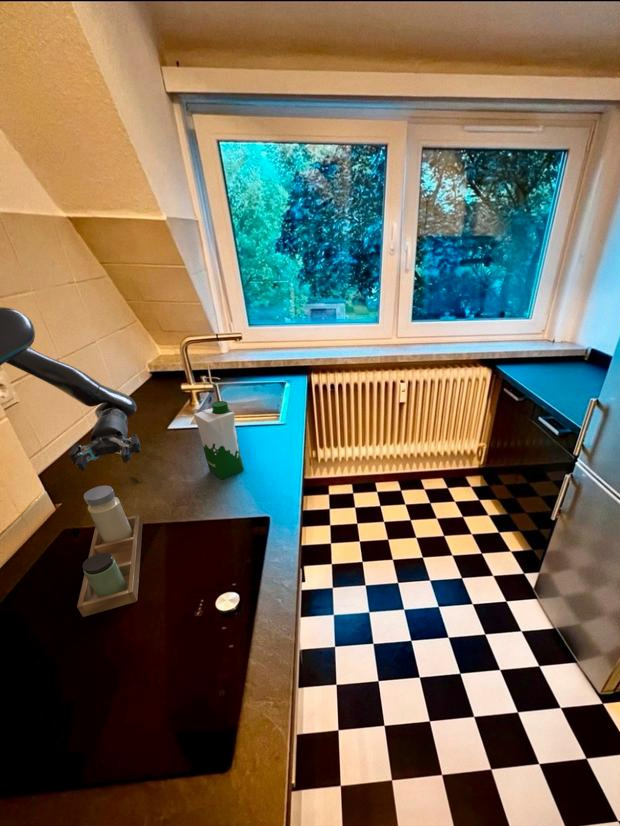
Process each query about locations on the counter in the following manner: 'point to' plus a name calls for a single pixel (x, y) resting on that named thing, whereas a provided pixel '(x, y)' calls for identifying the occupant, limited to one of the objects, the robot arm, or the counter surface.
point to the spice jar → (104, 575)
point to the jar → (108, 514)
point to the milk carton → (220, 440)
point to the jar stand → (128, 563)
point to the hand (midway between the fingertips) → (103, 462)
